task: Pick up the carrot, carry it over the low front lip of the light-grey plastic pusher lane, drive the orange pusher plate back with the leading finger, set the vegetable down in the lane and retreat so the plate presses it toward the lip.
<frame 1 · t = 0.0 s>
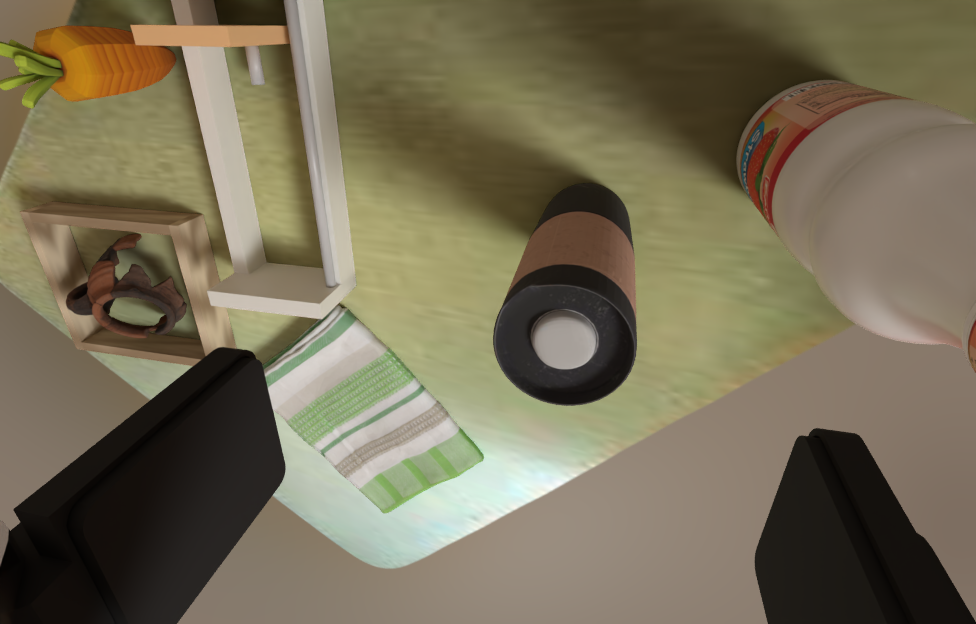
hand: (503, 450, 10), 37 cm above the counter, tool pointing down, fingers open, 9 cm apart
carrot: (175, 57, 46), on the counter
dish towel: (370, 409, 61), on the counter
lane: (283, 146, 48), on the counter
pusher: (230, 57, 40), point 5 cm above the counter, slide at 0.0 cm
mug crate: (148, 279, 58), on the counter
travel mug: (585, 224, 45), on the counter
fruit juice: (803, 148, 39), on the counter
pottery mug: (150, 277, 59), on the counter
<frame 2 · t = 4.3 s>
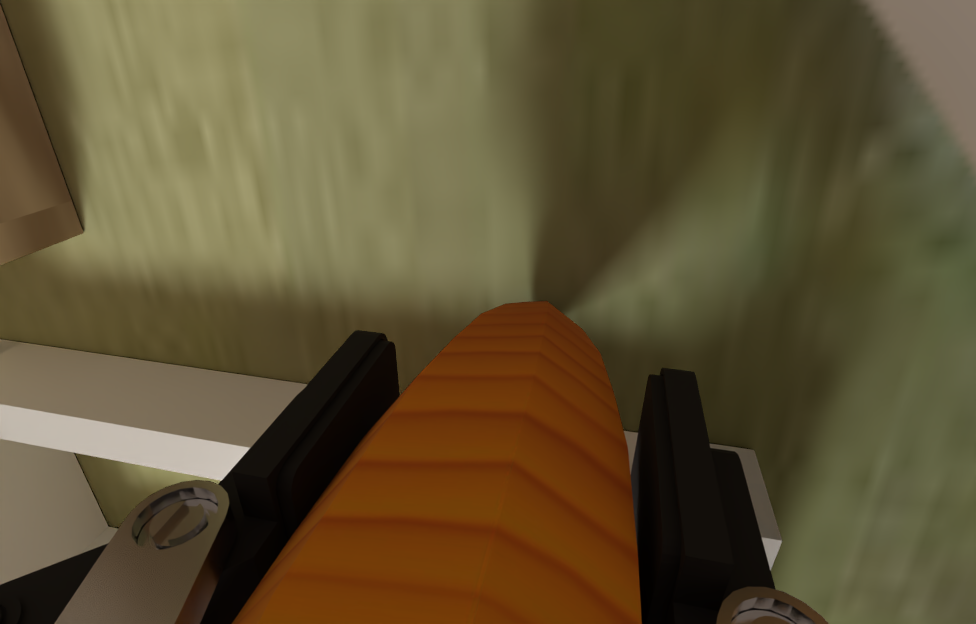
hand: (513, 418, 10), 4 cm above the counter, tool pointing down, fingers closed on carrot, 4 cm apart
carrot: (543, 309, 14), on the counter, touching gripper
lane: (338, 508, 20), on the counter
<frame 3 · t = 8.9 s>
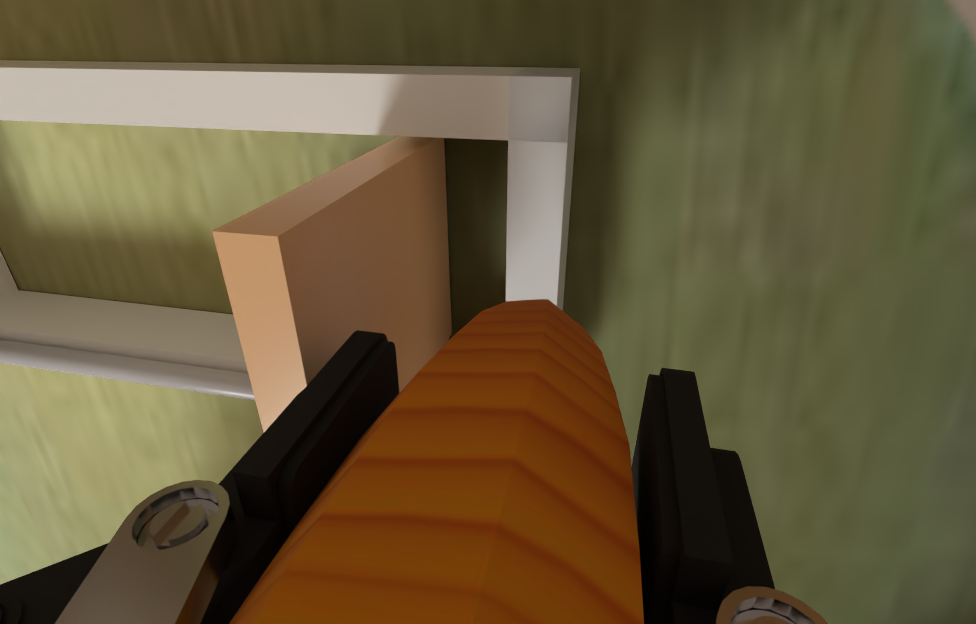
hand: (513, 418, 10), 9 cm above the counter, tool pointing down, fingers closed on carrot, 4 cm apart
carrot: (543, 307, 14), point 4 cm above the counter, touching gripper
lane: (221, 222, 20), on the counter
pusher: (327, 296, 15), point 5 cm above the counter, slide at 0.6 cm, touching gripper
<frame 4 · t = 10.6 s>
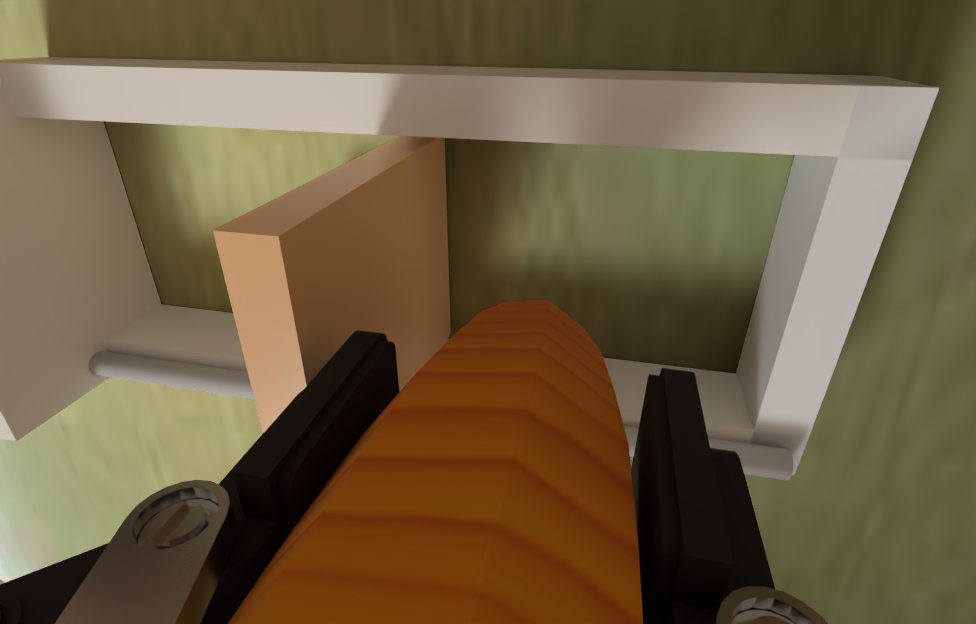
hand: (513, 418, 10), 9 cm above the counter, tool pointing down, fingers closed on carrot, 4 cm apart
carrot: (543, 307, 14), point 4 cm above the counter, touching gripper
lane: (412, 237, 19), on the counter
pusher: (326, 295, 15), point 5 cm above the counter, slide at 8.2 cm, touching gripper
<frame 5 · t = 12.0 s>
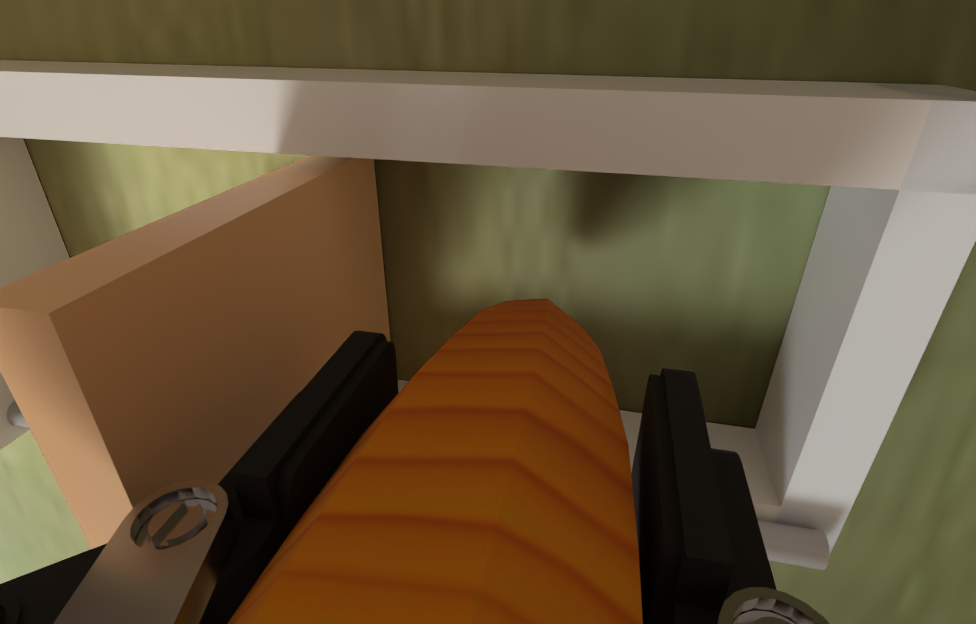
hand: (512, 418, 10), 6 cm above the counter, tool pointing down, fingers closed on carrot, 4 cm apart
carrot: (543, 306, 14), point 1 cm above the counter, touching gripper
lane: (379, 269, 16), on the counter
pusher: (220, 346, 12), point 5 cm above the counter, slide at 9.3 cm, touching gripper
when the fingers open (6 cm above the counter, at t = 12.0 s): carrot drops 1 cm, on the counter.
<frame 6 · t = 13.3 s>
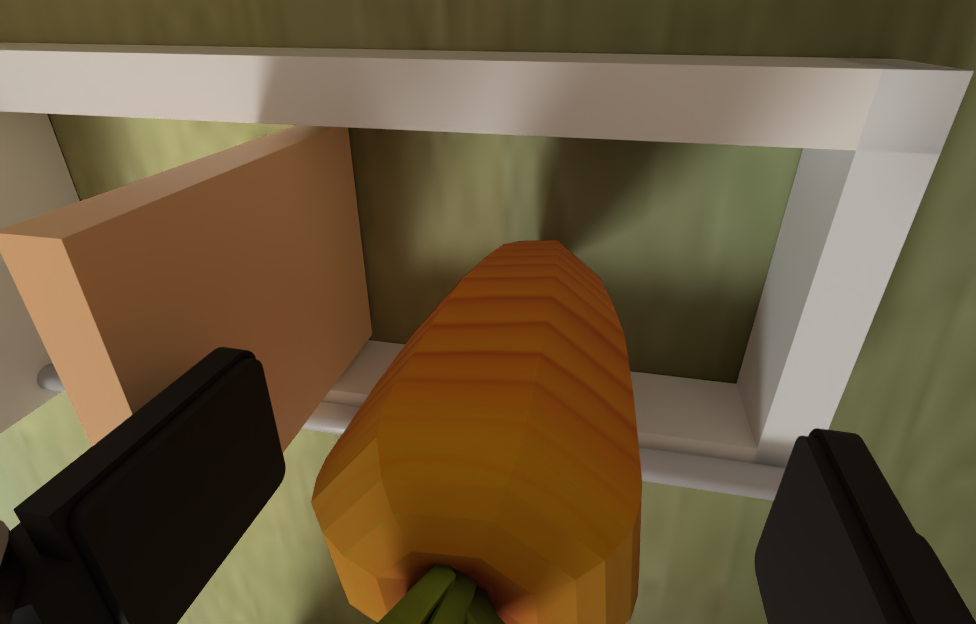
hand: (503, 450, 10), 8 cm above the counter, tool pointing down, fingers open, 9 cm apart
carrot: (548, 252, 17), on the counter
lane: (386, 238, 17), on the counter
pusher: (208, 299, 14), point 5 cm above the counter, slide at 10.3 cm
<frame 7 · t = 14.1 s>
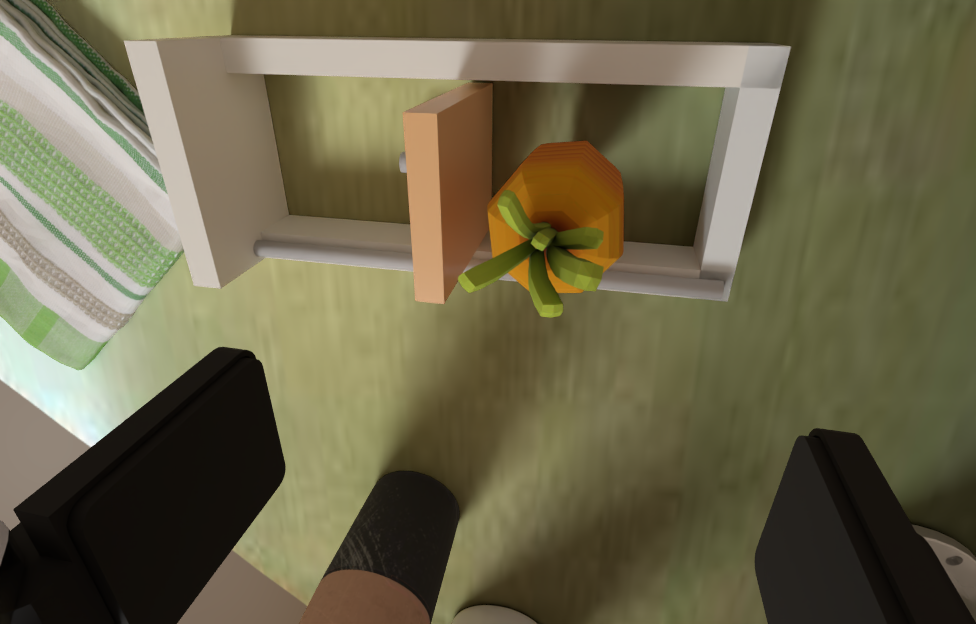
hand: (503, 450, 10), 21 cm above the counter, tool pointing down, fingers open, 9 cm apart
carrot: (577, 163, 27), on the counter
dish towel: (58, 194, 36), on the counter
lane: (477, 156, 28), on the counter
pusher: (425, 180, 24), point 5 cm above the counter, slide at 8.7 cm
travel mug: (416, 502, 42), on the counter
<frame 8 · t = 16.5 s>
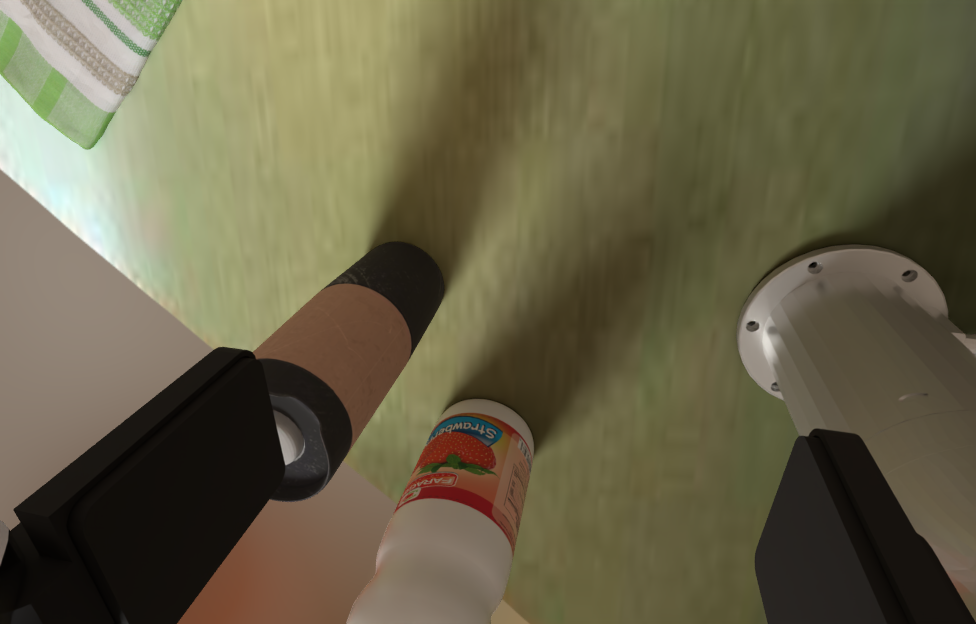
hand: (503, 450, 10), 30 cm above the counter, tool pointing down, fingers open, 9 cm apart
travel mug: (403, 281, 44), on the counter
fruit juice: (486, 435, 50), on the counter
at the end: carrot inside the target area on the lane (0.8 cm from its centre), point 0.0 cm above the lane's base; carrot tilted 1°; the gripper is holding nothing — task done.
